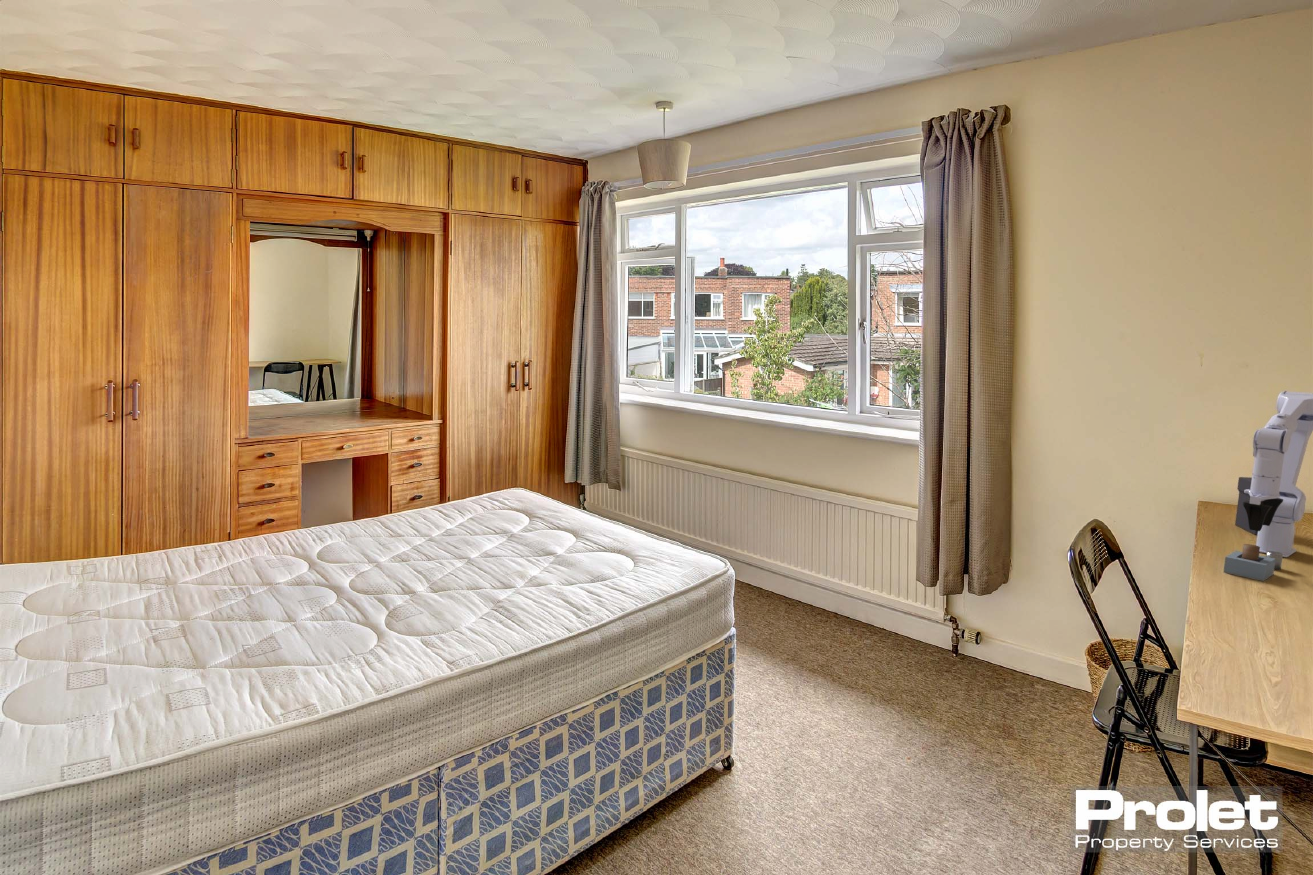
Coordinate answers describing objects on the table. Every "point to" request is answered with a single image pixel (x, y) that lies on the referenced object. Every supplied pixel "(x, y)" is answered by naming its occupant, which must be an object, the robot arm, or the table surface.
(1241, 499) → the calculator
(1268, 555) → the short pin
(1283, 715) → the table surface
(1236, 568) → the hole block
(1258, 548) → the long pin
